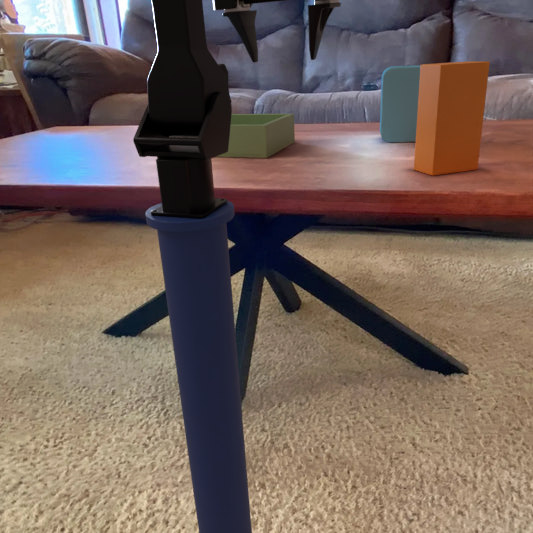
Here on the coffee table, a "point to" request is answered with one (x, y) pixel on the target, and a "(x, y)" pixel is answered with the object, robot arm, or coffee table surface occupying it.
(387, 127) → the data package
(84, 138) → the coffee table surface
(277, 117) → the open box
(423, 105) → the block
